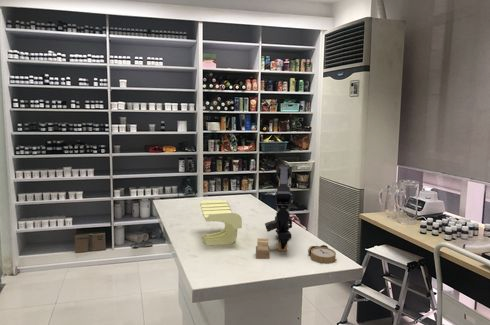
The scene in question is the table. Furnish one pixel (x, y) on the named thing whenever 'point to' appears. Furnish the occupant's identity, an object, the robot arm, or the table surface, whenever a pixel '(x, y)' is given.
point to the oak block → (262, 243)
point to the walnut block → (262, 254)
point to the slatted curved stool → (221, 213)
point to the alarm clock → (322, 254)
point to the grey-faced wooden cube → (280, 246)
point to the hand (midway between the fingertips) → (282, 247)
